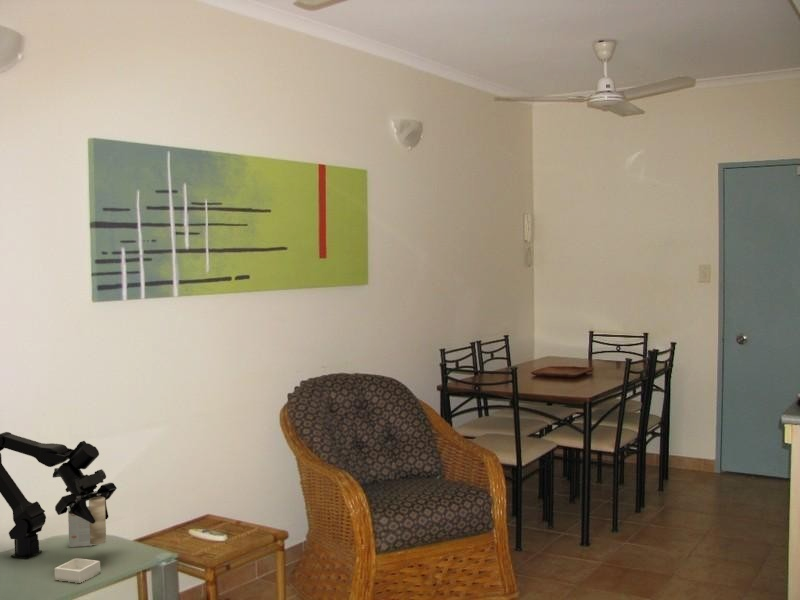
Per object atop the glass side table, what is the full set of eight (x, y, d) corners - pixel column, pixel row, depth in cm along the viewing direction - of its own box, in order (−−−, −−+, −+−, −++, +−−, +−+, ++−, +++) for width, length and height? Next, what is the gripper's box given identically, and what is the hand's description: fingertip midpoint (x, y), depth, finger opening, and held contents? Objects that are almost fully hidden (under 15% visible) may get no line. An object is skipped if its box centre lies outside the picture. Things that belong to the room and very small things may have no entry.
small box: (99, 539, 265) (98, 500, 265) (95, 546, 259) (94, 505, 258) (73, 541, 264) (72, 501, 263) (68, 547, 258) (67, 507, 257)
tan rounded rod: (86, 543, 241) (85, 500, 240) (97, 538, 245) (95, 496, 245) (99, 545, 239) (98, 501, 239) (109, 540, 244) (108, 497, 243)
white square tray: (54, 580, 230) (54, 568, 230) (76, 569, 238) (75, 557, 238) (79, 583, 227) (79, 571, 227) (100, 572, 235) (100, 561, 235)
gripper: (60, 469, 235) (87, 512, 230) (111, 456, 251) (138, 496, 247) (43, 493, 239) (69, 535, 234) (94, 478, 256) (120, 518, 251)
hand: (100, 520), depth 241 cm, fingers closed on tan rounded rod, 4 cm apart
